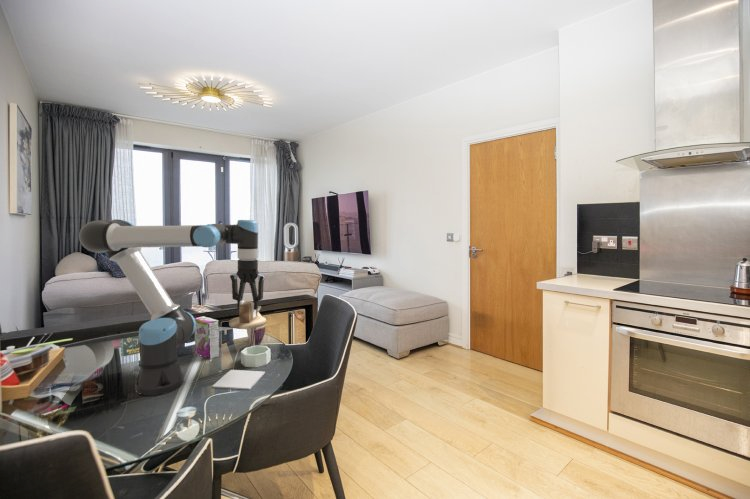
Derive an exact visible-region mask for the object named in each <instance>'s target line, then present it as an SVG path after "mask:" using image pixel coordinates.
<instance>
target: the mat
mask: <svg viewBox="0 0 750 499" xmlns="http://www.w3.org/2000/svg"><path fill="white" fill-rule="evenodd" d="M265 373H266V371H265V370H264V371H261V370H258V371H257V370H242V369H241V370H240V369H230V370H229V371H227V373H225V374H224V375H223V376H222V377H221V378H219V379H218V380H217V381H216V382H215V383H214V384H213V385H211V387H212V388H215V389H231V390H232V389H235V390H251V389H252V388H253V387H254V386H255V384H256V383H257V382H258V381H259V380H260V379H261V378H262V377H263V376H264V374H265Z"/></svg>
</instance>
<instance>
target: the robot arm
mask: <svg viewBox="0 0 750 499" xmlns="http://www.w3.org/2000/svg"><path fill="white" fill-rule="evenodd" d="M78 240H79V242H80V244H81V246H82V247H83V248H85V249H86V250H87V251H89V252H92V253H96V254H97V253H98V254H100V253H101V254H103V253H105V255H106V256H107V258H108V260H109V261H111V262H115V263H117V264H118V266H119V268H120V270H121V271H122V273H123V274H124V276H125V277H126V279H127V280H128V282H129V283H130V285H131V286H132V287H133V289H134V291H135V293H136V294H137V295H138V297H139V299H140V300H141V302H142V303H143V305H144V306H145V308H146V309H147V310H148V312H149V315H150V316H151V317H150V320H148V321H146V322H145V323H142V324H141V326H140V327H139V329H138V335H137V336H138V338H137V339H138V348H139V349H138V351H139V366H140V367H139V371H138V375H137V378H136V381H135V386H134V387H135V392H136V391H137V392H138V393H141V394H145V395H144V396H157V395H158V396H159V395H163V394H166V393H169V392H172V391H174V390H176V389H179V388H181V386H182V385H184V383H185V376H184V373H183V371H182V367H181V366H180V363H179V360H178V359H179V356H178V352H179V351H178V347H180V346H181V345H182V344H184V342H186V341H188V340H189V339H191V337H192V335H193V334H195V328H196V322H195V319H194V318H195V317H194V316H193V315H192V313H190V312H188V311H185V310H184V309H183V308H182V305H180V304H176V303H174V302H173V299H172V298H171V297H170V295H169V293H168V292H167V291H166V289H165V287H164V286H163V284H162V283H161V281H160V279H159V278H158V276H157V275H156V273H155V272H154V270H153V269H152V267H151V266H150V264H149V262H148V261H147V259H146V257H145V256H144V254H143V253H142V248H181V247H182V248H185V247H187V248H189V247H197V248H198V247H202V248H211V247H214V246H219V245H224V244H225V245H229V244H230V245H237V259H238V260H237V271H236V273H234V274H231V275H230V276H229V278H230V280H231V292H232V293H231V294H232V295H231V296H232V300H235V301H236V302H237V306H236V307H237V310H239V305H241V304H242V303H244V302H245V300H244V292H245V288H246V284H247V283H248V285H249V286H250V291H251V296H252V301H253V302H251V318H255V317H256V310H257V309H258V306H259V301H260V302H261V301H262V300H263V299H264V281H265V279H266V275H265V274H263V275H262V274H260V273H259V271H258V270H259V269H258V268H259V266H258V265H259V260H258V256H259V255H258V254H259V250H258V241H259V229H258V222H257V221H256V220H254V219H239V220H237V223H236V224H221V223H219V224H218V223H209V224H206V225H205V224H203V225H202V224H199V225H198V224H197V225H135V224H134V223H131V222H130V221H127V220H123V219H106V220H104V219H103V220H100V219H99V220H93V221H89V222H87V223H86V224H84V225H83V226H82V227H81V228H80V230H79V232H78ZM238 279H239V280H240V281H239V283H238ZM256 279H257V280H258V285H257V283H256ZM238 285H239V287H238ZM257 286H258V287H257ZM138 393H137V394H138Z"/></svg>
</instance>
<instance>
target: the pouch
mask: <svg viewBox="0 0 750 499" xmlns="http://www.w3.org/2000/svg"><path fill="white" fill-rule="evenodd" d="M261 309H262V306H261V305H258V309H257V310H256V316H261V317H263V316H262V314H261V313H260V310H261ZM246 334H247V338H248V341H249V345H250V346H249V347H251V346H256V345H258V346H261V343H262V342H263V339H264V337H265V334H266V324H265V325H263V326H260V327H257V328H250V329H246Z"/></svg>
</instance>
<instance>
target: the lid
mask: <svg viewBox="0 0 750 499" xmlns="http://www.w3.org/2000/svg"><path fill="white" fill-rule="evenodd" d="M251 302H253V300H252V301H251V300H246V301H244V303H242V304H241V305H239V309H238V310H239V311H238V312H239V313H238V315H239V316H237V317H233V318H231V319H230V320H229V321H228V325H229V328H232V329H236V330H237V329H239V330H247V329H250V328H257V327H260V326H263V325H265V326H266V324H267V319H266V317H265V316H262V315H261V316H262V317H261V316H256V317H255V318H251Z"/></svg>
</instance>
